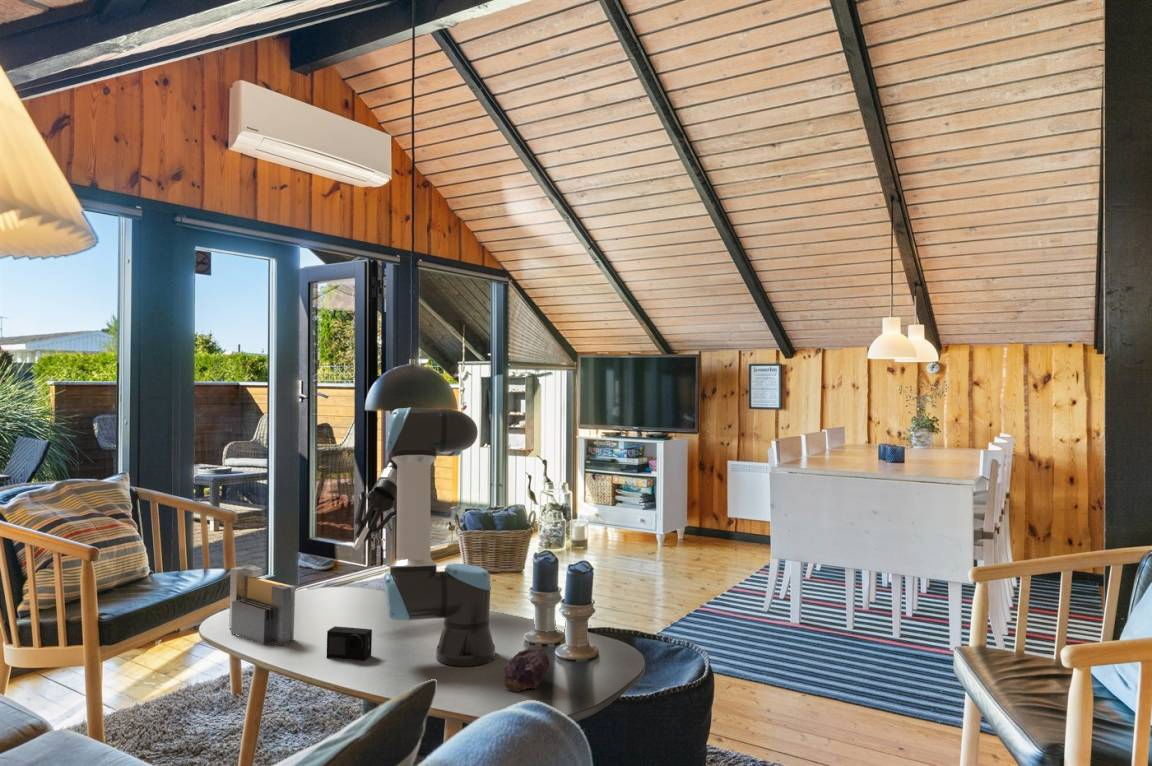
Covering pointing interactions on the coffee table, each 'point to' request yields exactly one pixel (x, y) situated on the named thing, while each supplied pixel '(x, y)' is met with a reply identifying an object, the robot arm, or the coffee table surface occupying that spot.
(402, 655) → the coffee table surface
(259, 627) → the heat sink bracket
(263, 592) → the orange wooden board
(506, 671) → the rock
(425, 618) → the robot arm
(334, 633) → the digital camera
